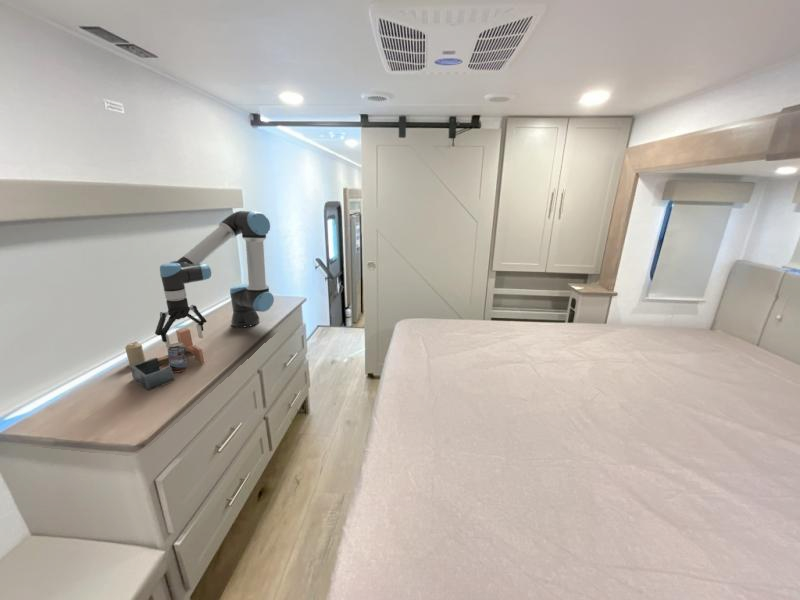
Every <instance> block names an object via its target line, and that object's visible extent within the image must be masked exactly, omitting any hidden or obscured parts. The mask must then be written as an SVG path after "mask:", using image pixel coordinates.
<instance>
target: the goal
mask: <svg viewBox="0 0 800 600" xmlns="http://www.w3.org/2000/svg"><path fill="white" fill-rule="evenodd" d="M158 358H159V357H153V358H150V359H147V360H146V361H144V362H141V363H138V364H135V365H132V366H130V365H129V368H130V371H131V375H132V379H133V380H134V381H135V382H136V383H138V384H139V385H140V386H141V387H143V389H145V390H146V391H151V390H153V389H155V388H159V387H161V386H163V385H165V384H168V383H170V382H173V381H175V377H174V372H172V368H171V367H169V366H168V367H165V368H162V369H161V367H159V362H158Z"/></svg>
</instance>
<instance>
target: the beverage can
mask: <svg viewBox="0 0 800 600" xmlns="http://www.w3.org/2000/svg"><path fill="white" fill-rule="evenodd" d="M167 355H168V358H169V364H168V365H169V366H168V367H171V368H172V372H173V373H180V372H183V371H185V370H186V369H187V368H188V363H187V358H186V351H185V346H184V345H183V343H179V342H174V343H170V345H169V347H168V348H167Z"/></svg>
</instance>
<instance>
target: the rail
mask: <svg viewBox="0 0 800 600" xmlns="http://www.w3.org/2000/svg"><path fill="white" fill-rule="evenodd" d="M192 356H193V357H194V354H192V353H191V352H189V351H186V359H187V358H189V357H192ZM157 358H158V362H159V367H160V368H161V367H164V366H168V365H169V358H168V354H166V355H163V356H160V357H157Z"/></svg>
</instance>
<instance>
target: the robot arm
mask: <svg viewBox="0 0 800 600" xmlns="http://www.w3.org/2000/svg"><path fill="white" fill-rule="evenodd" d="M270 230H271V222H270V219H269V218H268V217H267V215H265V214H264V213H262V212H260V211H259V212H258V211H250V210H249V211H248V210H247V211H246V210H239V211H236V212H233V213H231V214H230V215H228V216H227V217H226V218H224V219H223V220H222V221H221V222H219V224H218V227H216V229H214V230H213V231H212V232H211V233H209V234H208V235H207V236H206V237H204V238H203V239H202V240H201V241H200V242H199V243H197V244H196V245H195V246H193V248H192V249H190V250H189V251H187V253H185V254H184V255H183V256H181V257H180V258H178V260H175V261H174V260H172V261H170V262H168V263H164V264H161V265H160V266H159V274H160V278H161V282H162V287H163V291H164V292H163V293H164V295H165V299H166V301H165V302H166V306H167V311H165V312H163V311H161V312H159V320H158V323H157V325H156V327H155V328H156V329H155V333H154V334H155V335H157V336H161V341H162V342H163V343H165V347H166V349H168V347H169V345H170V344H171V341H170V337H169V334H168V332H169V330H170V329H171V327H172V326H173V323H174V322H175V321H176V320H177V321H178V320H182V319H185V318H186V317H187V318H189V319H190V320H192V321H193V322H195V323H196V332H197V337H198V338H199V339H204V337H203V332H204V326H203V325H204V324H205V323H207V322H208V321H207V319H206V318H205V317H204V316H203V315H202V313H201V312H200V311H199V310H198V308H197V305H194V304H191V305H190V306H189V302H188V298H187V292H186V287H185V284H189V283H195V282H201V281H205V280H208V279H210V278H211V277H212V270H211V267H210V266H209V265H208V264H207V263H203V262H204V261H206V259H208V258H209V257H210V256H211V255H213V254H214V253H215V252H216V251H217V250H218V249H219V248H220V247H222V246H223V245H224V244H225V243H226V242H228V241H229V240H230V239H232V238H233V239H234V238H235V237H237V236H238V235H240V234H241V236H242V237H241V238H242V239H243V240H244V241H245V248H246V250H245V251H246V263H247V276H248V277H247V278H248V279H247V280H248V283H247V284H246V283H245V284H240V285H239V284H238V285H235V286H232V287H231V288H230V289H229V294H230V298H231V299H230V301H231V306H232V316H231V321H230V323H231V326H232V325H233V326H237V327H236V328H239V327H241V328H245V327H244V326H250V325H253V326H255V325H254V324H256V323H258V322H259V320H260V316H259V314H258V313H257V312H260V313H262V312H267V311H269V310H270V309H271V307H272V306H273V305H274V302H275V298H274V295H273V294H272V292H270V288H269V286H268V285H267V283H266V282H267V281H266V266H265V248H264V241H265V240H266V239H267V234H269V231H270ZM190 311H192V312H193V313H194V314H195V316H196V317H198V318H196V317H194V316H193V315H191V314H190V313H189V312H190ZM168 316H169V317H168ZM167 317H168V320H167V321H166V318H167ZM259 323H260V322H259ZM259 323H258V324H259ZM256 325H257V324H256ZM233 326H232V327H233ZM250 327H251V326H250Z"/></svg>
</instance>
